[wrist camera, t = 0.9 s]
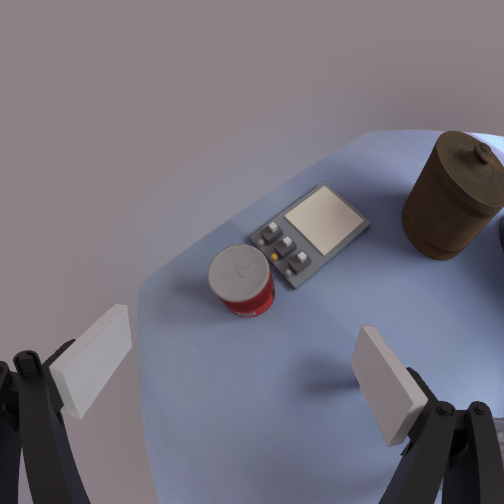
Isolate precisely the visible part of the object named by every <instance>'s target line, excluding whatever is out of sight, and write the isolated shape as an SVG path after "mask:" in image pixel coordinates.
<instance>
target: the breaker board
mask: <svg viewBox="0 0 504 504" xmlns="http://www.w3.org/2000/svg"><path fill="white" fill-rule="evenodd" d="M370 223H371V222H370V221H369V220H368V219H367V218H366V217H365V216H364V215H363V214H361V213H360V212H359V211H358V210H357V209H356V208H355V207H354V206H353V205H351V204H350V203H349V202H348V201H347V200H346V199H345V198H343V197H342V196H341V195H340V194H339V193H338V192H336V191H335V190H334V189H333V188H332V187H330V186H329V185H328V184H327V183H326V182H322V183H321V184H320V185H318V186H317V187H316V188H314V189H313V190H312V191H310V192H309V193H308V194H306V195H305V196H303V197H302V198H301V199H299V200H298V201H297V202H295V203H294V204H293V205H291V206H290V207H289V208H287V209H286V210H285V211H283V212H282V213H280V214H279V215H278V216H276V217H275V218H274V219H272V220H271V221H270V222H268V223H267V224H266V225H264V226H263V227H262V228H260V229H259V230H258V231H256V232H255V233H254V234H252V235H251V236H250V240H251V241H252V242H253V243H254V244H255V245H256V246H257V248H258V249H259V250H260V251H261V252H262V253H263V254H264V255H265V256H266V258H267V259H268V260H269V261H270V262H271V263H272V264H273V265H274V267H275V268H276V269H277V270H278V271H279V272H280V273H281V274H282V275H283V277H284V278H285V279H286V280H287V281H288V282H289V283H290V284H291V286H292V287H293V288H294V289H295V290H296V289H297V288H299V287H300V286H301V285H302V284H303V283H305V282H306V281H307V280H308V279H309V278H311V277H312V276H313V275H314V274H315V273H316V272H318V271H319V270H320V269H321V268H322V267H324V266H325V265H326V264H327V263H328V262H329V261H330V260H332V259H333V258H334V257H335V256H336V255H337V254H339V253H340V252H341V251H342V250H343V249H344V248H345V247H346V246H348V245H349V244H350V243H351V242H352V241H353V240H354V239H355V238H356V237H358V236H359V235H360V234H361V233H362V232H363V231H364V230H365V229H366V228H367V227H369V226H370Z"/></svg>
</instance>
